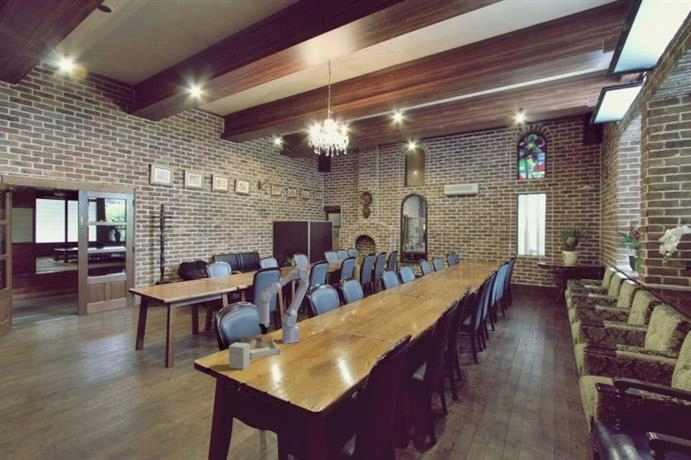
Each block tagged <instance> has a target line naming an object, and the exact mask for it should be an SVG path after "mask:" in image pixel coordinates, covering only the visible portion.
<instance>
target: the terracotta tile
mask: <svg viewBox="0 0 691 460" xmlns="http://www.w3.org/2000/svg"><path fill="white" fill-rule="evenodd" d="M269 334H270V333H269ZM269 334H268V333H267V334H264V335H261V334H259V335H260V340H261V342H267V341H271V337H272V335H271V334H270V335H271V336H270V335H269Z"/></svg>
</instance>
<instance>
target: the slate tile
mask: <svg viewBox="0 0 691 460" xmlns="http://www.w3.org/2000/svg"><path fill="white" fill-rule="evenodd" d="M257 335H258V334H256V333H255V332H254V333H253V332H252V333H246V334H245V337H246V340H247V341H253V340H257Z"/></svg>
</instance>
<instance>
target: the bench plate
mask: <svg viewBox="0 0 691 460" xmlns="http://www.w3.org/2000/svg"><path fill="white" fill-rule="evenodd" d="M267 334H269V335H270V336H271V341H267V342H261V340H260V335H262V334H256V335H257V340H253V341H247V340H246V336H241V337H240V343H247V344H249V347H250V350H252V349H258V348H265V347H271V346H273V342H275V339H274V338H273V336H272V335H271V334H270V333H268V332H267Z"/></svg>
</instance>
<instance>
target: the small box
mask: <svg viewBox="0 0 691 460" xmlns="http://www.w3.org/2000/svg"><path fill="white" fill-rule="evenodd" d="M250 361H251V359H250V347H249V344H247V343H241V342H234V343H232V344H230V345H228V367H229V368H231V369H236V370H237V369H238V370H244V369H246V368H248V367H249V366H250V364H251V362H250Z"/></svg>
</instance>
